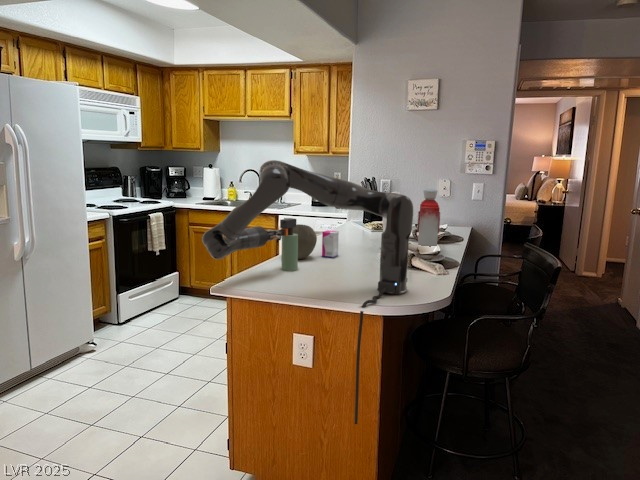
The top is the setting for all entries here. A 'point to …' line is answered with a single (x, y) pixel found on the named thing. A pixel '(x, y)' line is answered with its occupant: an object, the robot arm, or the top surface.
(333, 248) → the supplement box
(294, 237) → the spray bottle
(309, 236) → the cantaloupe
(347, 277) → the top surface
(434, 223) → the bottle
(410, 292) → the top surface
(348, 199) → the robot arm
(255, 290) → the top surface
